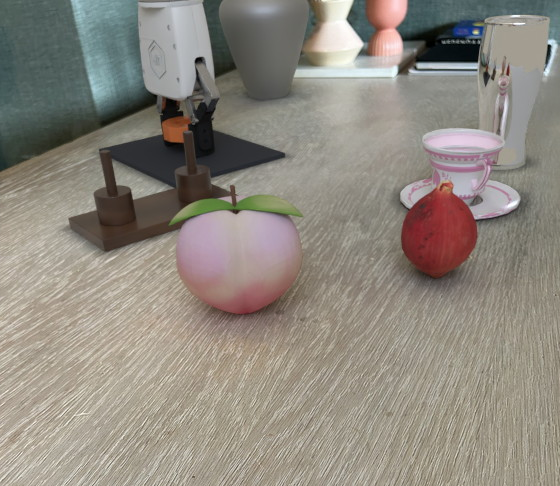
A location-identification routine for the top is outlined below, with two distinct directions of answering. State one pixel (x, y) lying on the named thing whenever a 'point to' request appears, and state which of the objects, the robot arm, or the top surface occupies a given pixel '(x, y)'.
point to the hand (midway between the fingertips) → (189, 148)
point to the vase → (265, 42)
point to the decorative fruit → (238, 250)
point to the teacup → (464, 171)
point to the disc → (175, 128)
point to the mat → (165, 160)
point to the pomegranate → (439, 231)
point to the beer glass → (510, 80)
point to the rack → (143, 204)
